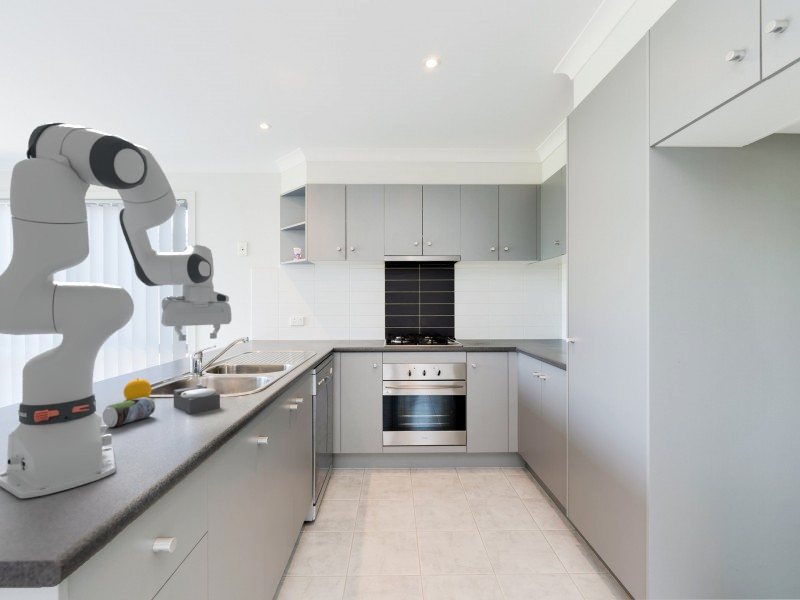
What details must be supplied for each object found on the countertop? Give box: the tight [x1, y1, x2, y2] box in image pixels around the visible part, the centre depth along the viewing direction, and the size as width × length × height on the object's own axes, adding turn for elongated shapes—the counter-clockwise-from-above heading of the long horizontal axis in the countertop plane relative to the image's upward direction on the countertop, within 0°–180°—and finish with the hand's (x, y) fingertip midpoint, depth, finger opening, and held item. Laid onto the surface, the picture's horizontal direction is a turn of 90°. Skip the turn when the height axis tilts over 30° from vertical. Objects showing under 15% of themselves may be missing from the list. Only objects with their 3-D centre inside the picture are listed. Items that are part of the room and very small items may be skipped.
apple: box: [123, 378, 152, 401], centre depth 130 cm, size 8×8×8 cm
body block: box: [173, 383, 221, 415], centre depth 120 cm, size 13×10×6 cm
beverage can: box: [102, 397, 156, 428], centre depth 106 cm, size 6×7×12 cm
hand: (198, 339), depth 119 cm, fingers open, 8 cm apart
